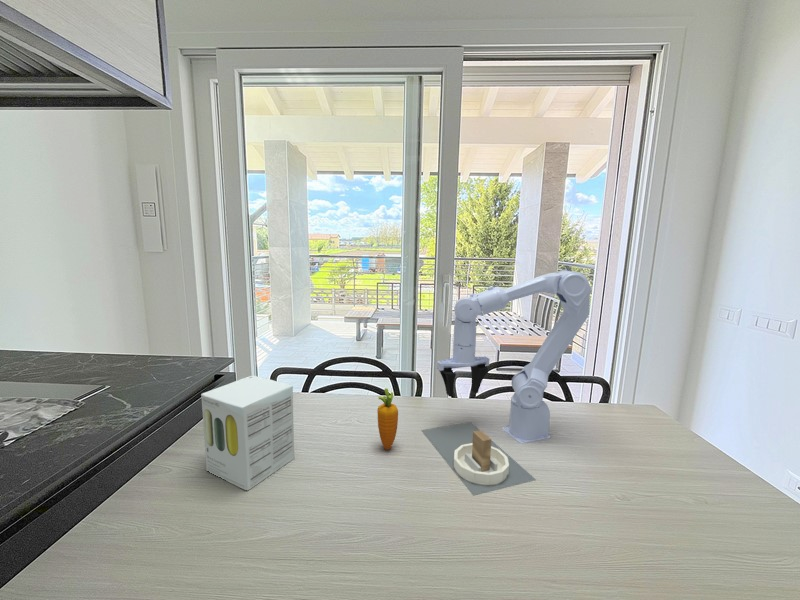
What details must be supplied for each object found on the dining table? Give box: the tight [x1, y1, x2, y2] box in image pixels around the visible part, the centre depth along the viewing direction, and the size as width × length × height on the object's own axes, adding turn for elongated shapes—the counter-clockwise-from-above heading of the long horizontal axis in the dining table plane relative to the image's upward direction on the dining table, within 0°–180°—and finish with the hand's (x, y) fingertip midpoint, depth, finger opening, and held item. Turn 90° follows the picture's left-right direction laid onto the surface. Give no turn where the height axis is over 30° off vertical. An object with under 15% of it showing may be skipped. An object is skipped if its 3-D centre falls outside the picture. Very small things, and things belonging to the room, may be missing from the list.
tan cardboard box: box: [472, 429, 492, 472], centre depth 75 cm, size 2×4×7 cm, turn 19°
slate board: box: [420, 421, 537, 497], centre depth 82 cm, size 15×26×1 cm, turn 19°
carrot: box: [377, 387, 399, 451], centre depth 82 cm, size 5×5×15 cm
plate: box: [454, 443, 509, 486], centre depth 76 cm, size 11×11×2 cm
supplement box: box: [200, 374, 296, 491], centre depth 75 cm, size 13×13×18 cm
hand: (462, 393), depth 93 cm, fingers open, 7 cm apart
